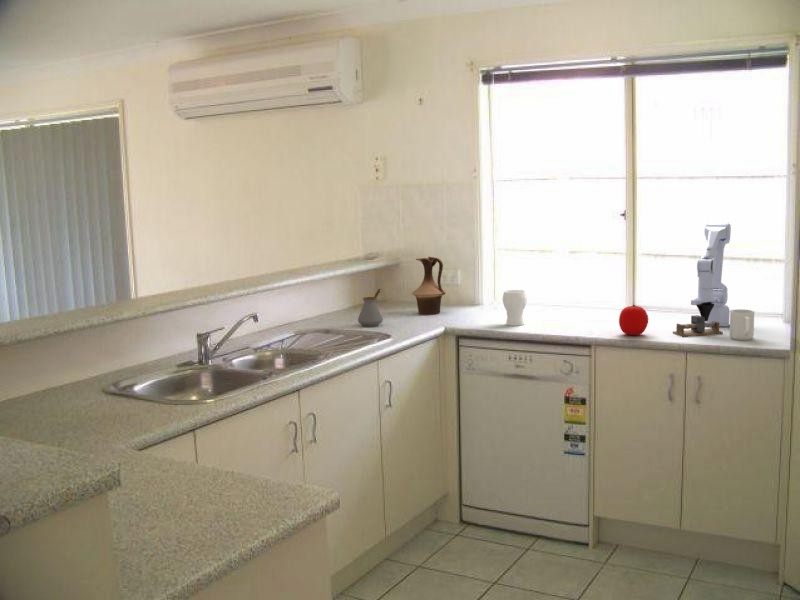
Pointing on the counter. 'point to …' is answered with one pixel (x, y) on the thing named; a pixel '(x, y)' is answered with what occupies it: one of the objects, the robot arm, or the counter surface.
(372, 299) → the coffee pot
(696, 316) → the collar
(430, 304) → the pitcher
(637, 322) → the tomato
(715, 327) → the towel rail
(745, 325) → the mug
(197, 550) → the counter surface
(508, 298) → the cup
